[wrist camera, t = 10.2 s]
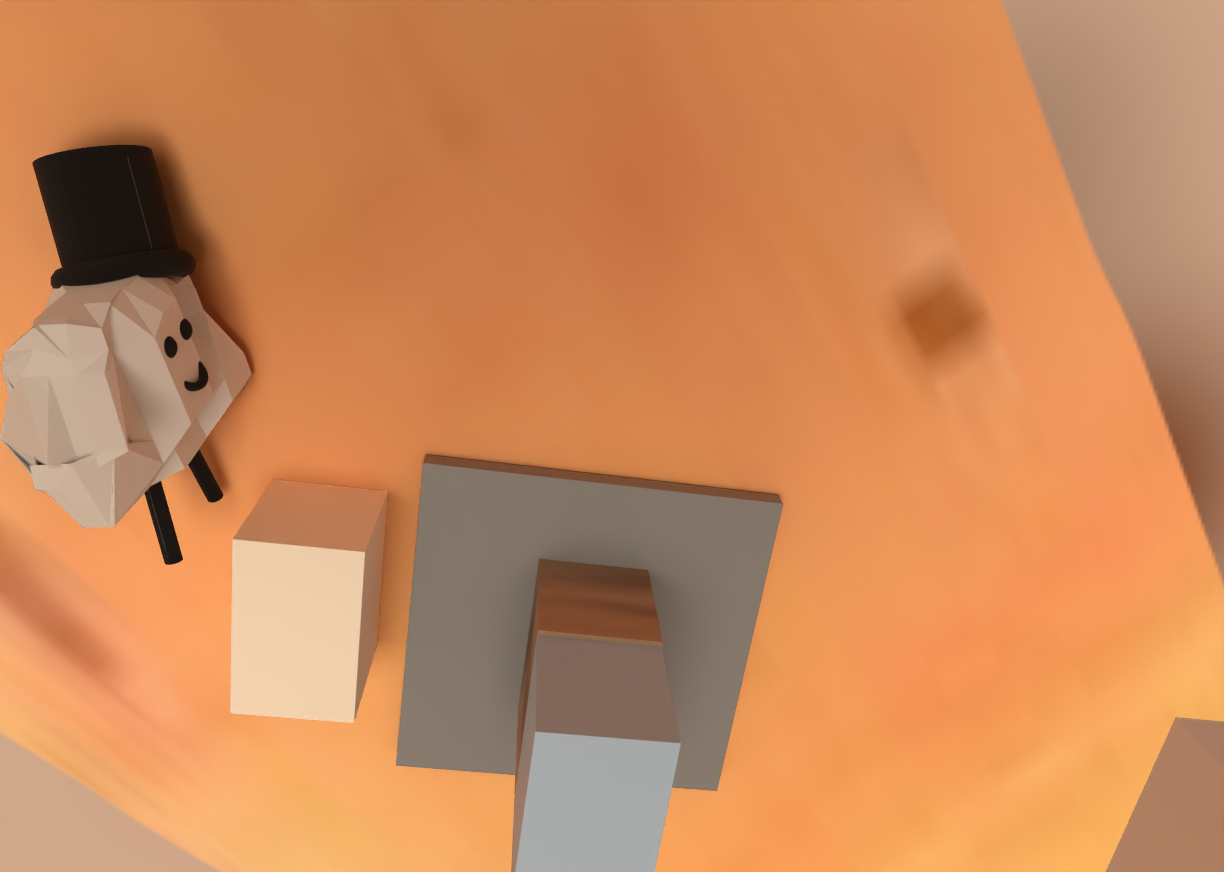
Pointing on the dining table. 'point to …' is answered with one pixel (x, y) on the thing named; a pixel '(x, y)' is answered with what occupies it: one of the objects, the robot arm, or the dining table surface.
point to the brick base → (587, 612)
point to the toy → (117, 349)
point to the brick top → (594, 758)
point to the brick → (306, 600)
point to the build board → (583, 533)
